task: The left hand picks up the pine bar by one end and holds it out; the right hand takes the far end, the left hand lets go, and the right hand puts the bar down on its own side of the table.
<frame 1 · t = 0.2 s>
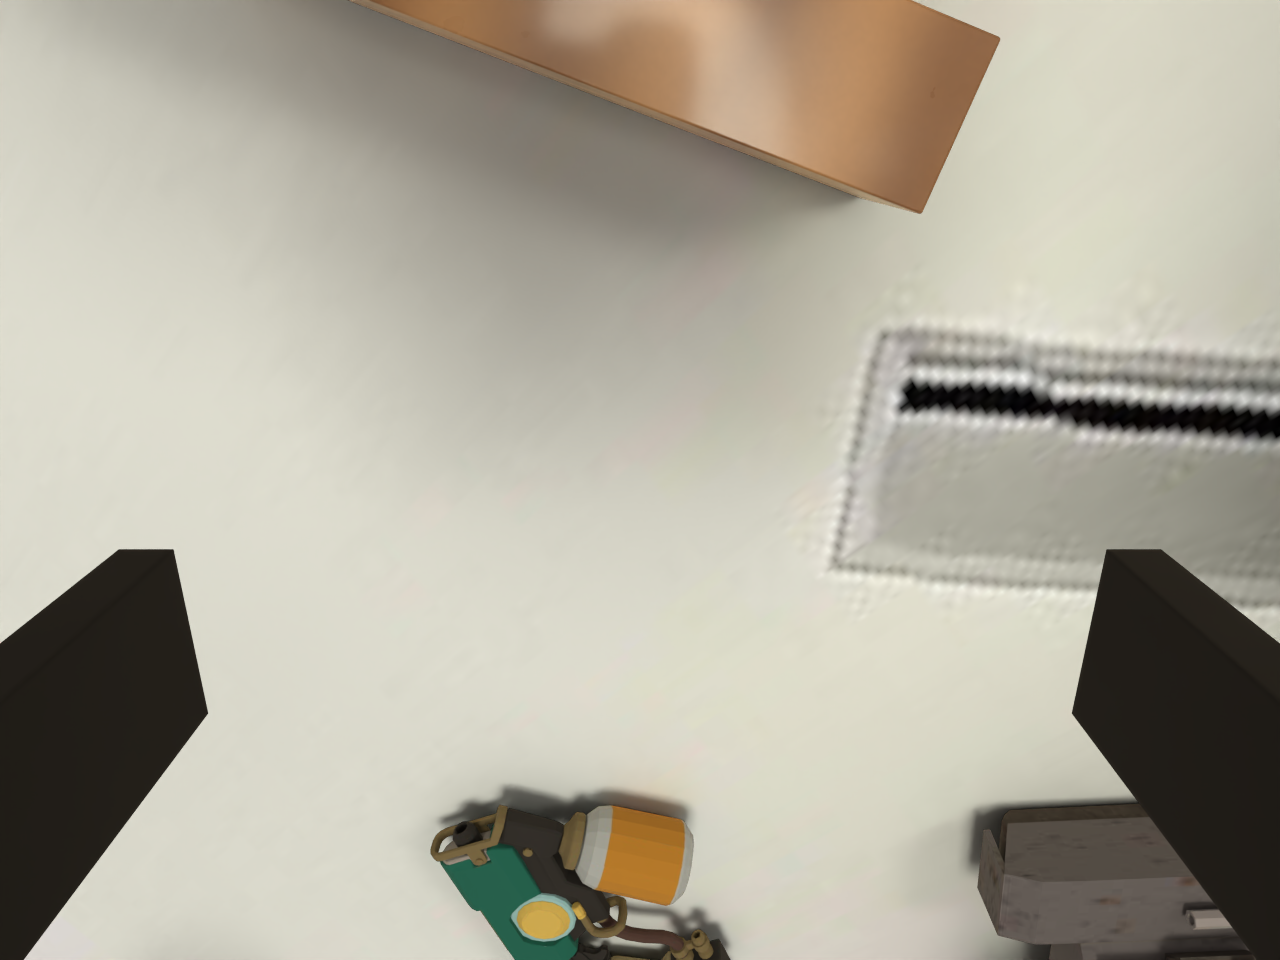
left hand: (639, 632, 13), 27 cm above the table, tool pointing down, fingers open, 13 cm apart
bar: (581, 8, 34), on the table
toy: (1176, 930, 51), on the table
spray gun: (591, 894, 50), on the table
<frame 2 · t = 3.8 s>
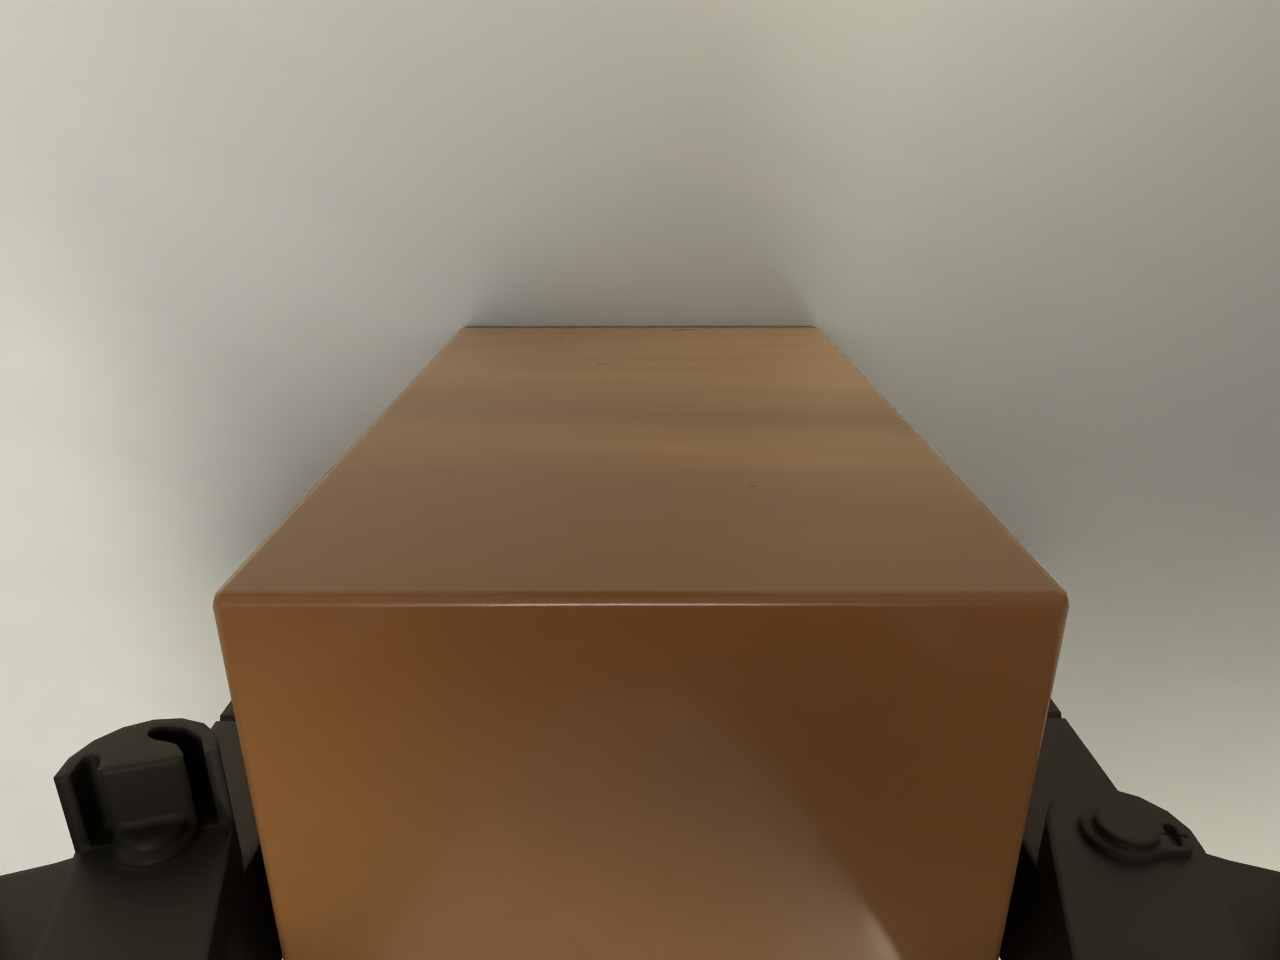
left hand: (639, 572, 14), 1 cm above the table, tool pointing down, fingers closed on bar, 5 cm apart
bar: (640, 958, 18), on the table, touching left hand
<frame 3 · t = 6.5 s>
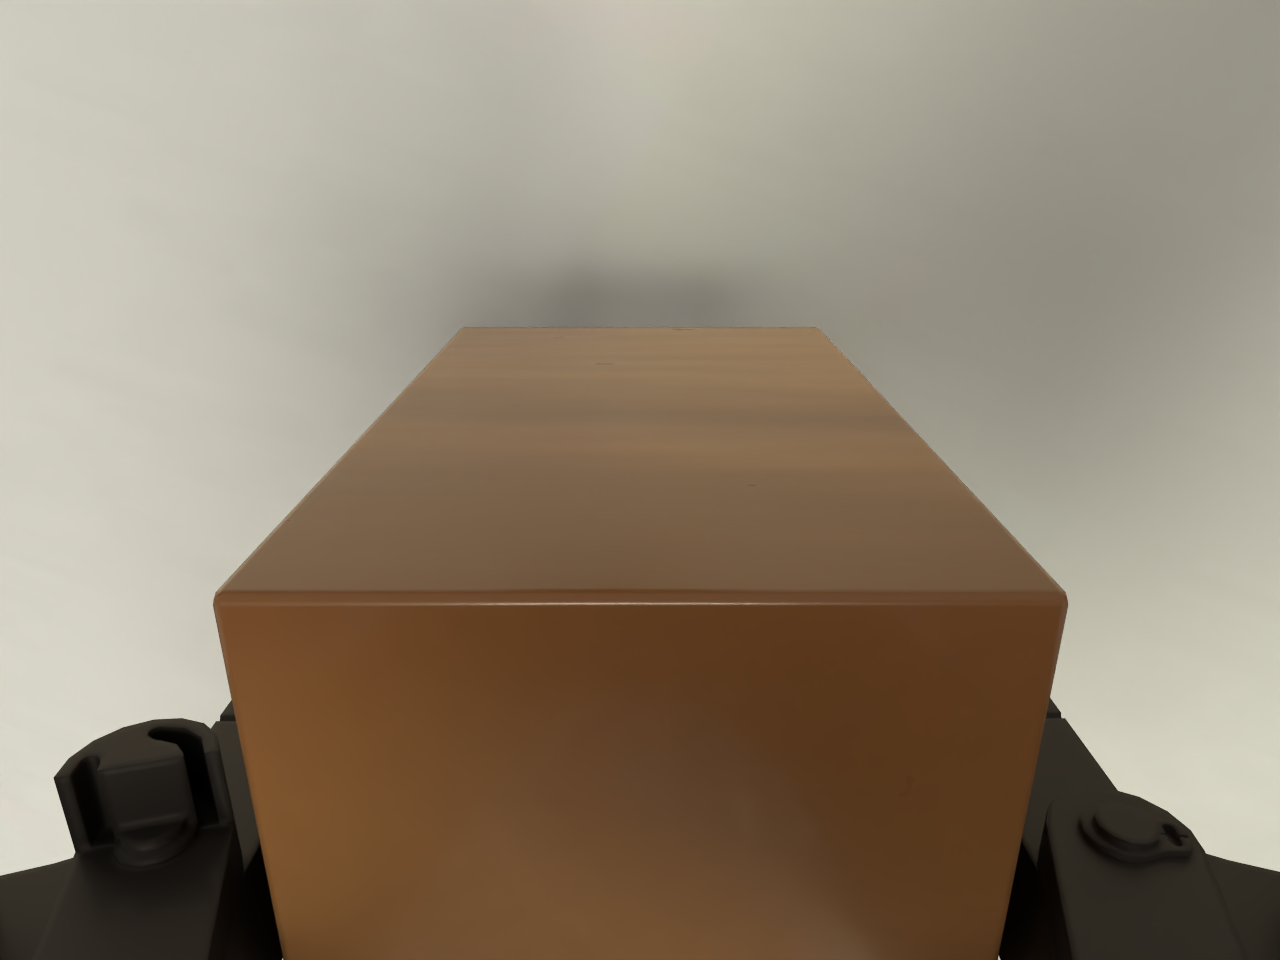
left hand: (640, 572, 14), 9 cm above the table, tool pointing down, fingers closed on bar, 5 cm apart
bar: (640, 958, 18), point 9 cm above the table, touching left hand
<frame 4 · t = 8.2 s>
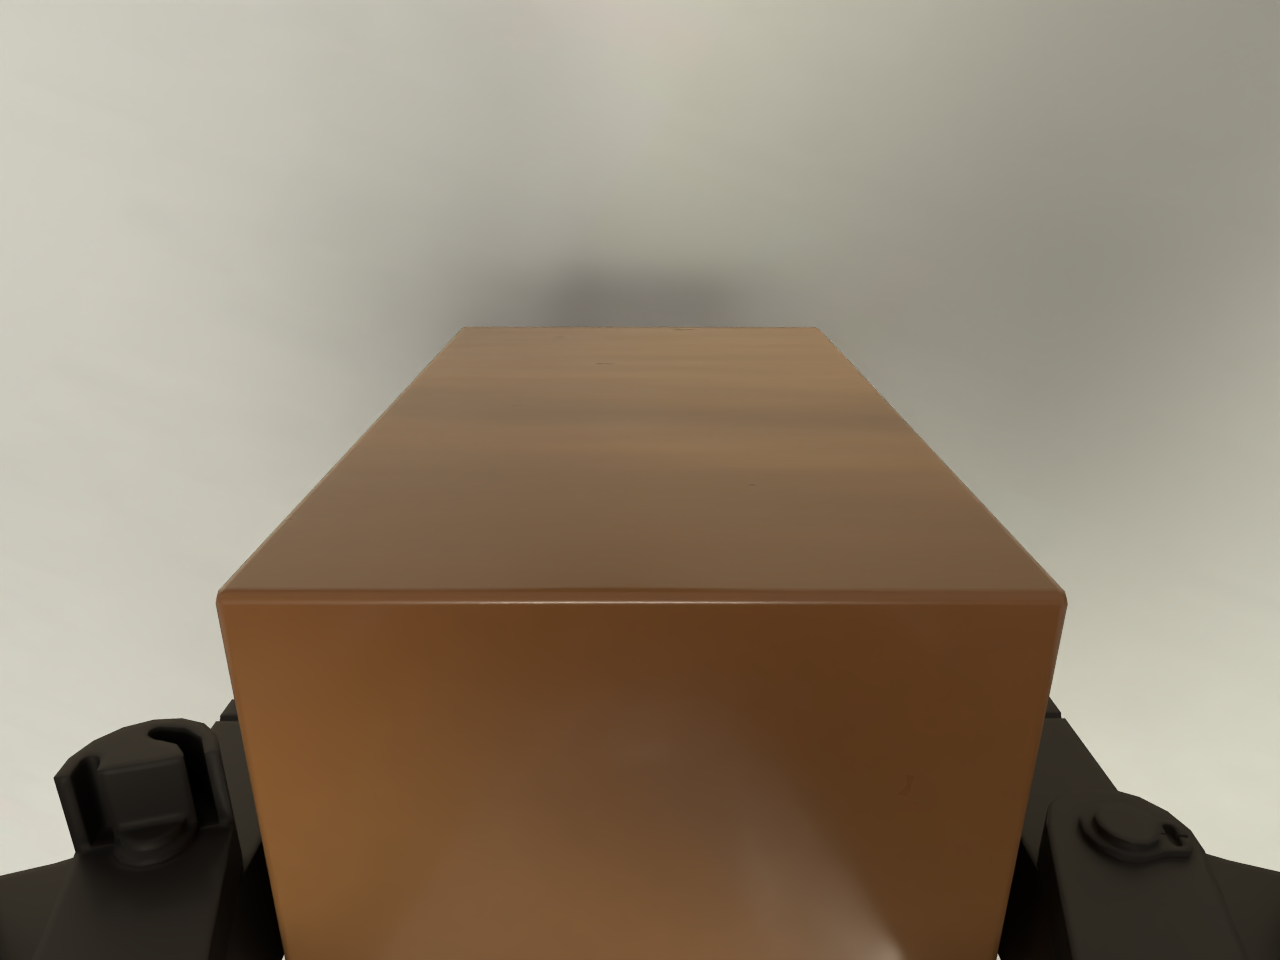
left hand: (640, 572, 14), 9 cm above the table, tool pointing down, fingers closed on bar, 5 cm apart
bar: (639, 957, 18), point 9 cm above the table, touching left hand, right hand
when the left hand's fingers open (9 cm above the table, at t = 9.1 s): bar stays where it is, held by the right hand.
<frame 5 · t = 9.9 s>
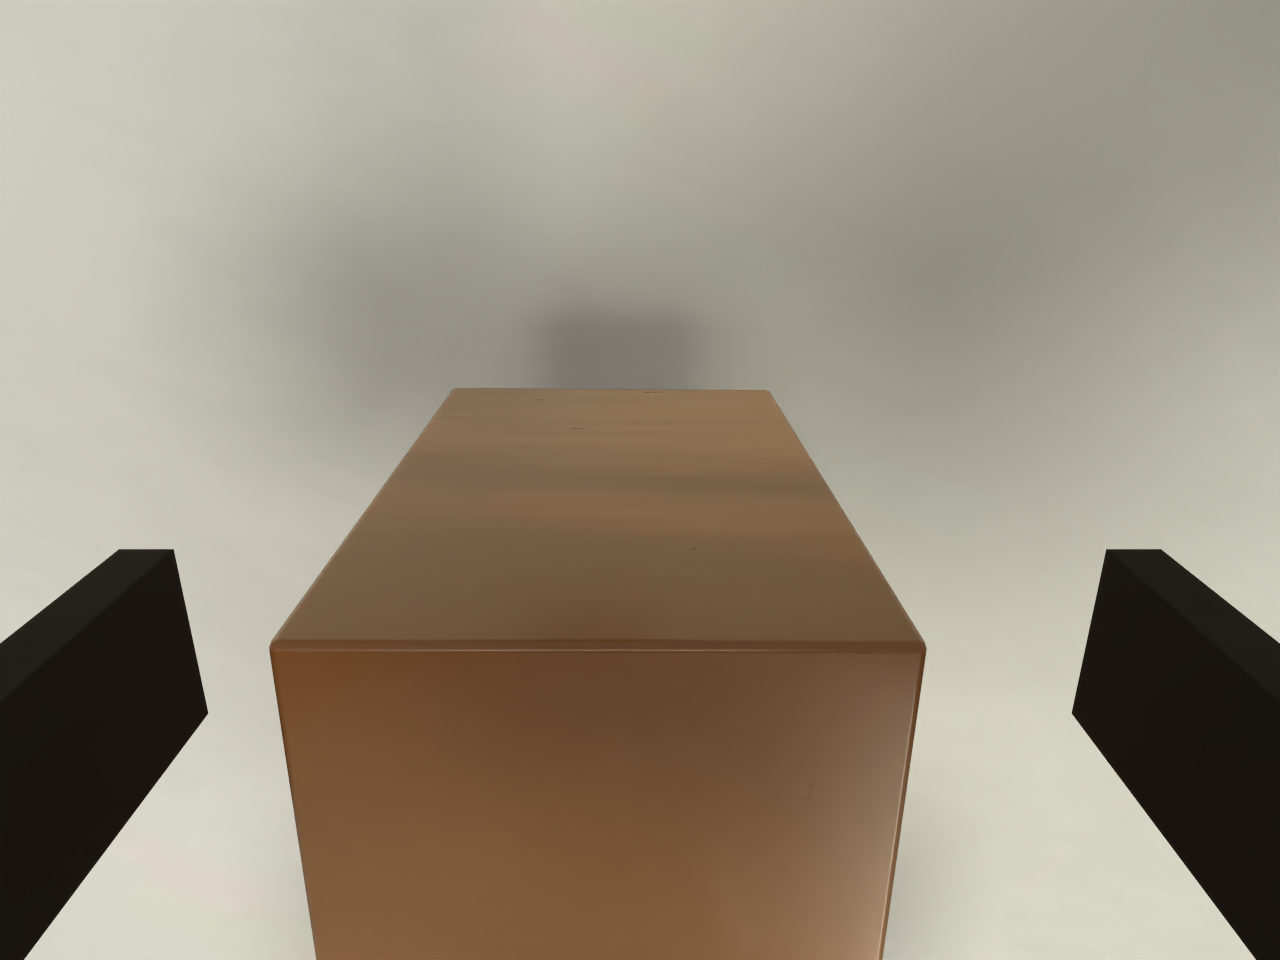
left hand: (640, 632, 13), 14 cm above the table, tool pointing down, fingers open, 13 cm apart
bar: (611, 958, 20), point 11 cm above the table, touching right hand
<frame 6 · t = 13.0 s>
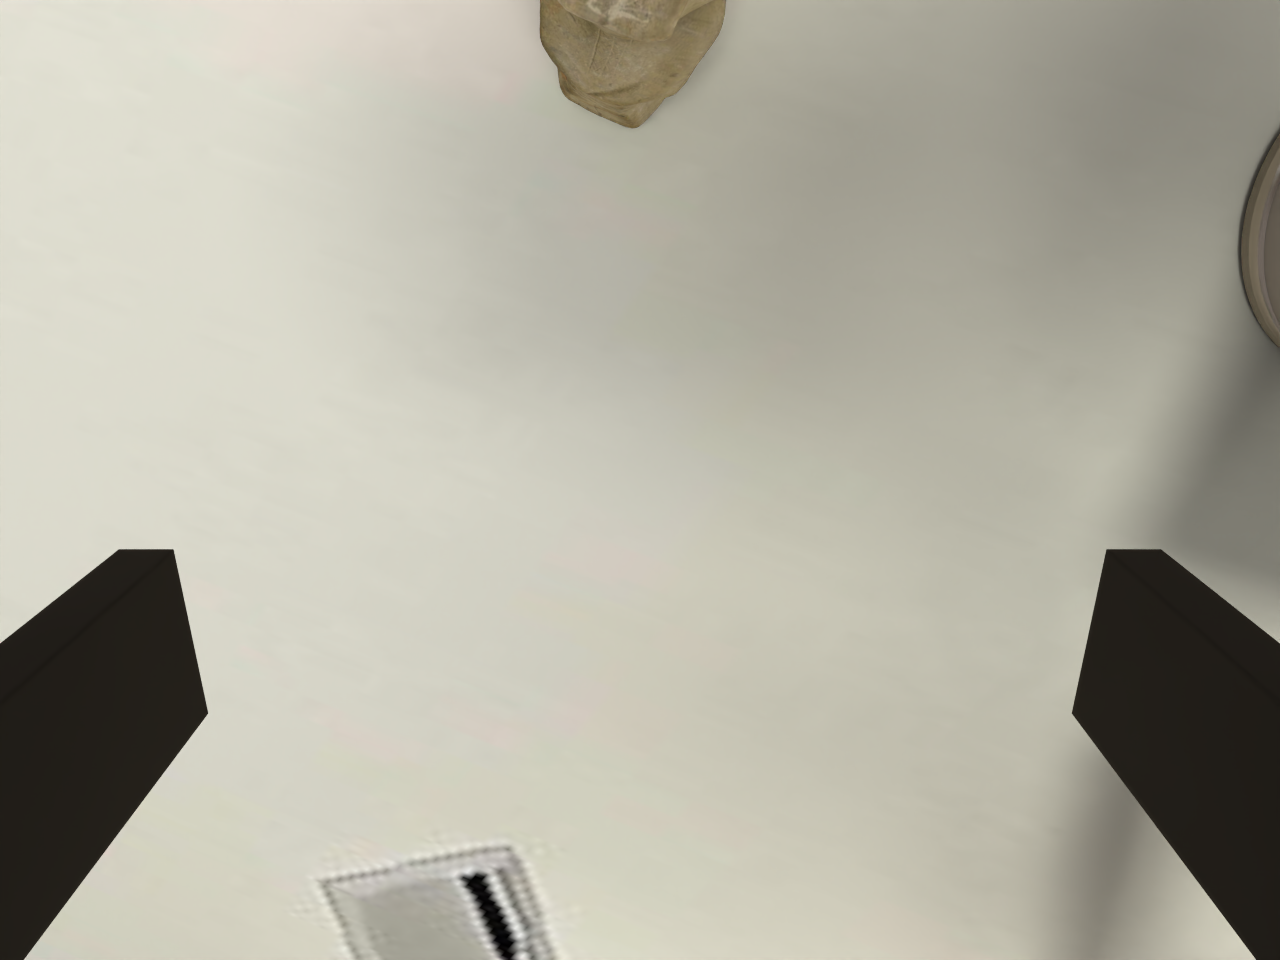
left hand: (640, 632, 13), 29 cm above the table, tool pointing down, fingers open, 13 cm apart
sculpture: (634, 27, 36), on the table
when the right hand's fingers open (4 cm above the table, at t = 18.0 s): bar stays where it is, on the table.
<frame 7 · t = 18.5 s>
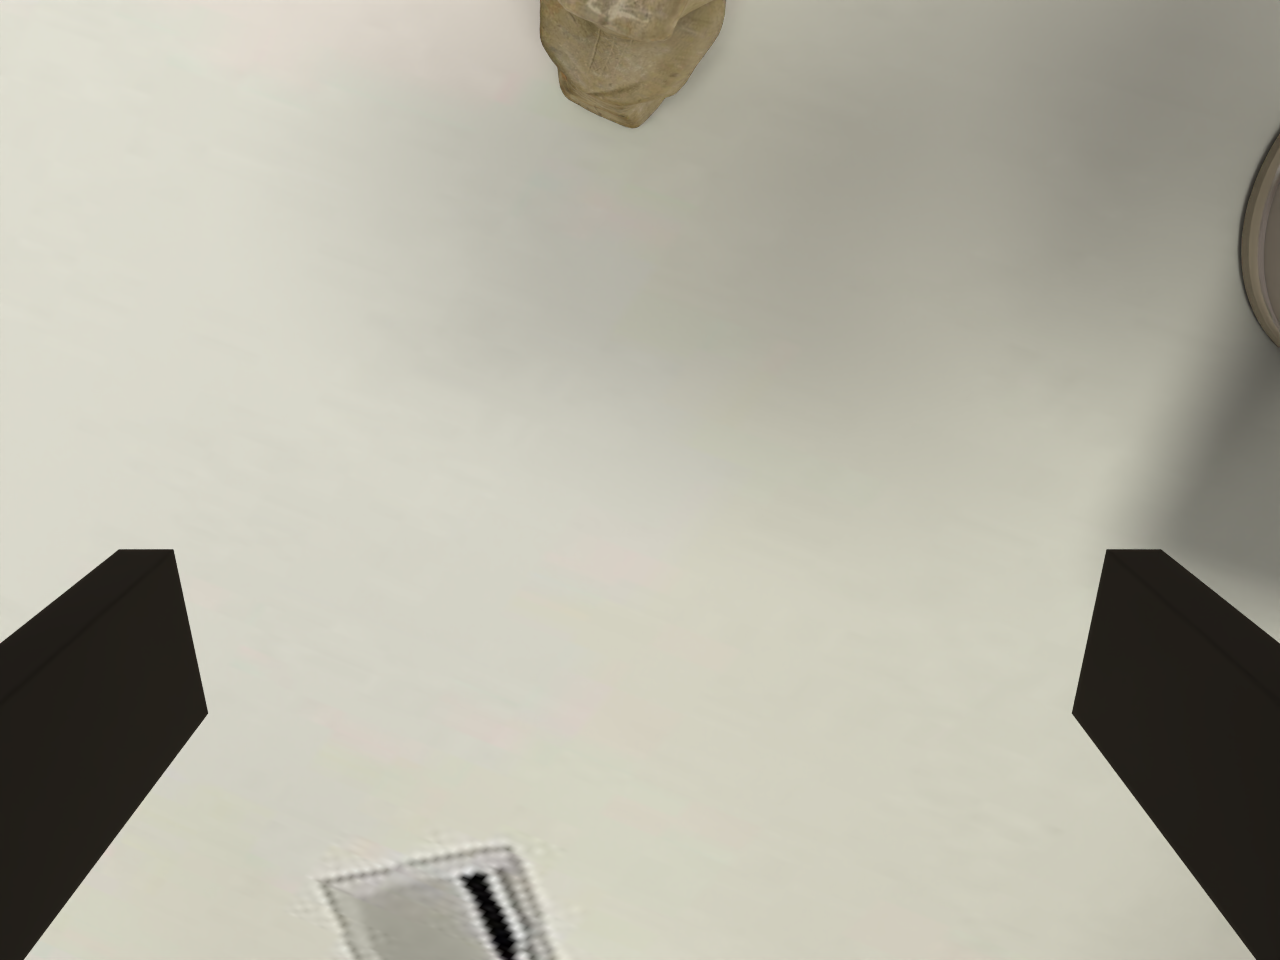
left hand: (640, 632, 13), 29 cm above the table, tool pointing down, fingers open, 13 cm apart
sculpture: (634, 27, 36), on the table
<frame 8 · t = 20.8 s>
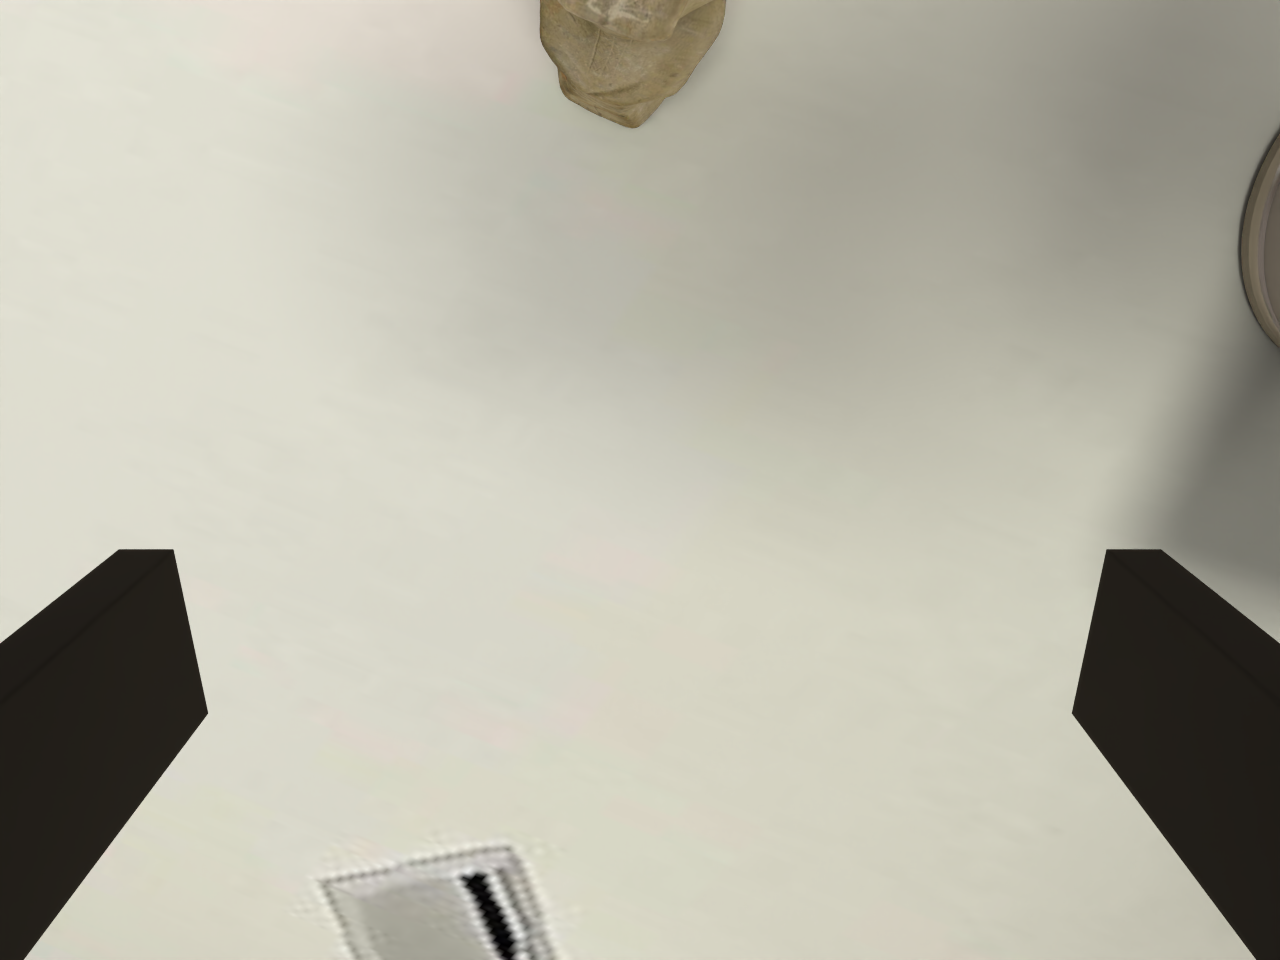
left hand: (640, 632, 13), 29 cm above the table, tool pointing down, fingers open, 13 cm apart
sculpture: (634, 27, 36), on the table
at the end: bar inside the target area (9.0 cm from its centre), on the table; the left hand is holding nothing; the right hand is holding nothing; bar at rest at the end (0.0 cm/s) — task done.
